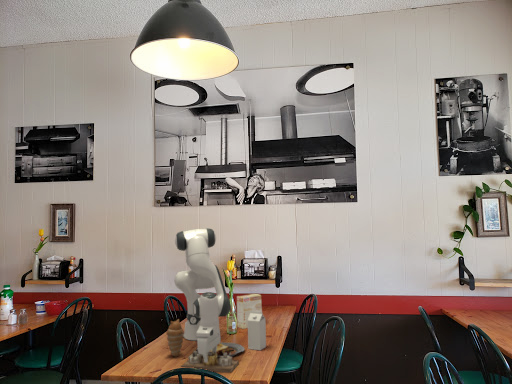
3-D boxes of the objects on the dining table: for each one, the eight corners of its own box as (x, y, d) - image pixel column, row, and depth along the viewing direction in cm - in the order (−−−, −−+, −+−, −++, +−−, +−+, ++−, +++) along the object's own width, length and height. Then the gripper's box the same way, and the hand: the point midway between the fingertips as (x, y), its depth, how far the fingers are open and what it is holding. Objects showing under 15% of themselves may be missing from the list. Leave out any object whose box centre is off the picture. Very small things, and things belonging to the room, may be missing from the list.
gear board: (191, 360, 206) (191, 347, 206) (238, 363, 200) (238, 349, 200) (181, 369, 194) (180, 354, 195) (230, 372, 188) (230, 357, 189)
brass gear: (206, 360, 201) (206, 351, 202) (219, 361, 200) (219, 352, 200) (200, 365, 195) (200, 356, 195) (214, 366, 193) (214, 357, 193)
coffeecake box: (256, 323, 279) (256, 293, 280) (262, 325, 273) (261, 294, 274) (236, 326, 271) (236, 295, 272) (242, 329, 265) (241, 297, 266)
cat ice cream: (177, 352, 219) (176, 317, 221) (187, 355, 214) (186, 319, 216) (163, 357, 213) (163, 320, 214) (173, 360, 208) (173, 322, 209)
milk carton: (254, 345, 229) (253, 309, 230) (266, 347, 226) (265, 310, 227) (248, 349, 223) (247, 312, 224) (260, 350, 219) (259, 313, 221)
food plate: (218, 363, 201) (218, 355, 201) (186, 354, 216) (186, 347, 216) (252, 351, 220) (252, 344, 220) (221, 344, 235) (221, 338, 235)
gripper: (211, 322, 209) (211, 351, 208) (194, 333, 189) (195, 365, 188) (223, 323, 207) (224, 352, 206) (208, 334, 188) (208, 366, 187)
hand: (210, 358), depth 197 cm, fingers open, 8 cm apart
